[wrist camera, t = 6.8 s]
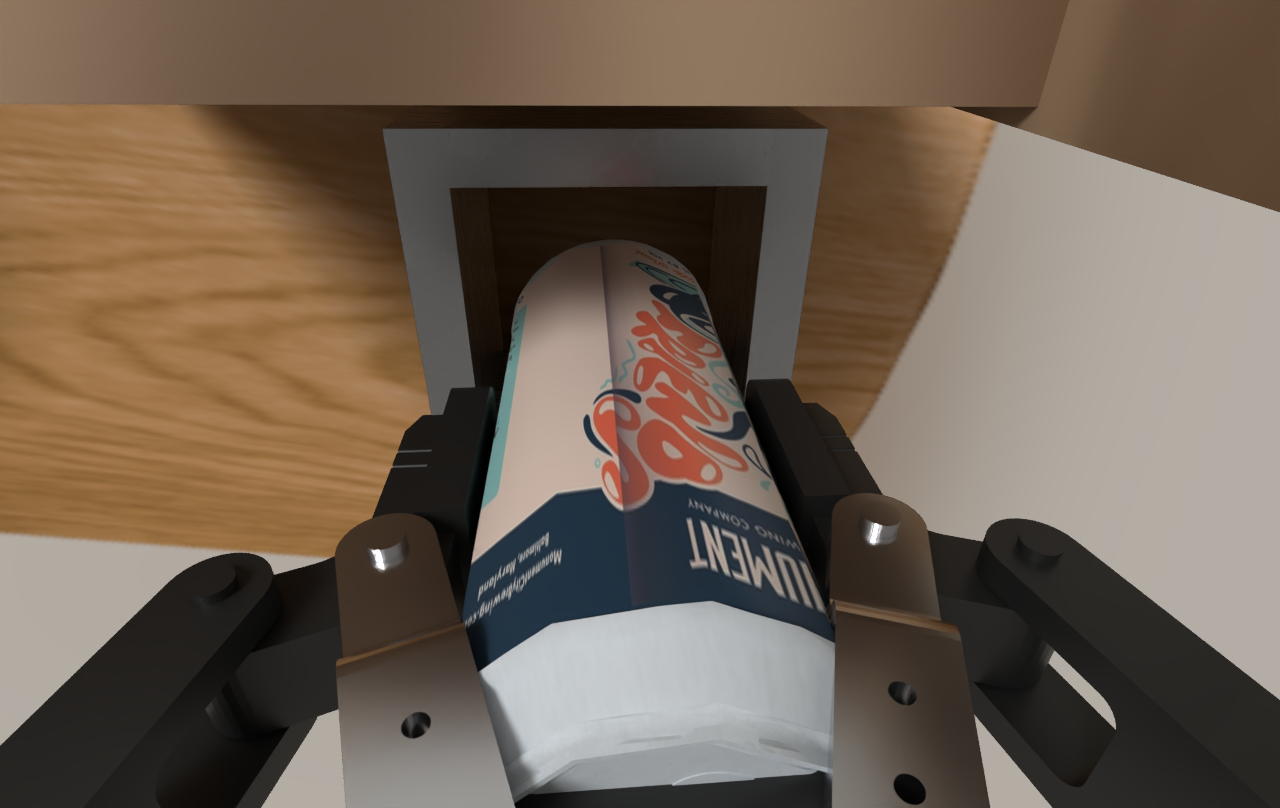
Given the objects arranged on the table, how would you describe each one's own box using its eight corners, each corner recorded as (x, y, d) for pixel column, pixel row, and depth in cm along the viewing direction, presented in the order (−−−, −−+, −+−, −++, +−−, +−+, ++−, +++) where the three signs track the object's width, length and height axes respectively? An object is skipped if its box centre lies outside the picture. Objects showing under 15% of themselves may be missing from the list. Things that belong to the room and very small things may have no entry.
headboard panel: (123, 35, 18) (-1798, 241, 3) (92, -57, 17) (-2847, -320, 2) (830, 42, 19) (1589, 210, 5) (842, -42, 18) (1853, -149, 4)
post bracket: (472, 382, 24) (444, 489, 19) (433, 90, 19) (382, 129, 14) (735, 375, 25) (777, 476, 20) (763, 91, 20) (828, 128, 15)
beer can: (736, 365, 18) (957, 893, 7) (570, 437, 18) (565, 1004, 8) (662, 195, 15) (838, 628, 5) (475, 285, 16) (293, 823, 6)
